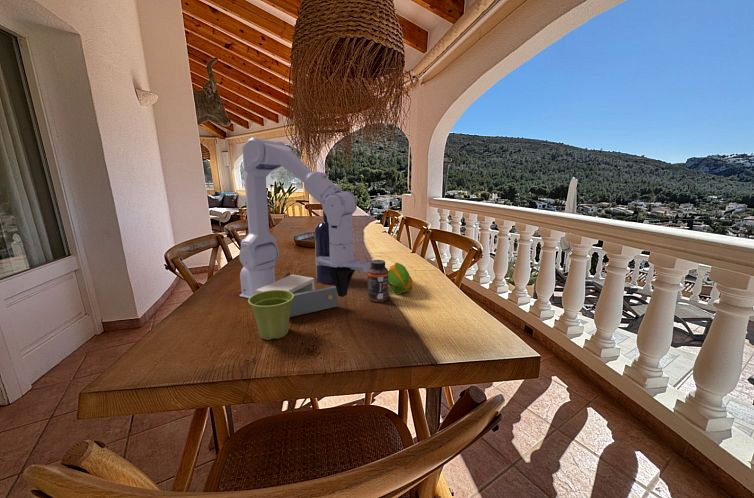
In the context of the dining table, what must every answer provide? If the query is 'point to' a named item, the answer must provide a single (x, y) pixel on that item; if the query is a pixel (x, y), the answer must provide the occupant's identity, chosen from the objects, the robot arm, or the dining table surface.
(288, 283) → the cabinet
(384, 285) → the supplement bottle
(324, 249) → the bottle
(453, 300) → the dining table surface
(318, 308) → the door
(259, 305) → the plant pot
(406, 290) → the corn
